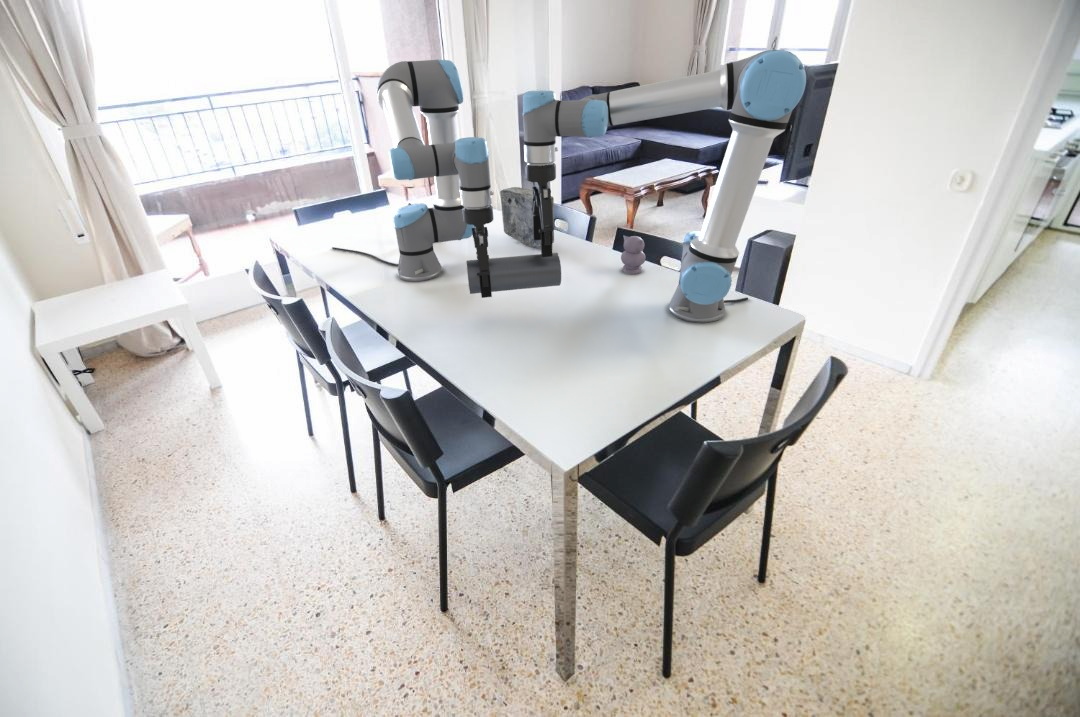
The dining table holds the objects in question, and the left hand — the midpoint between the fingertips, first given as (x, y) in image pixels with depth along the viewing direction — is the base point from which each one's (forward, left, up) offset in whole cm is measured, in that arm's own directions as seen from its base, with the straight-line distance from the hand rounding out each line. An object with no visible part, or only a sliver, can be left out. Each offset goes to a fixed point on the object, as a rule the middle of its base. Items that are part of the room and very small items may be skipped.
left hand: (485, 289), depth 135 cm
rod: (+7, +4, 0) cm, 8 cm away
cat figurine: (+30, +51, -11) cm, 60 cm away
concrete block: (-15, +68, -11) cm, 71 cm away
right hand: (+14, +8, +10) cm, 19 cm away
